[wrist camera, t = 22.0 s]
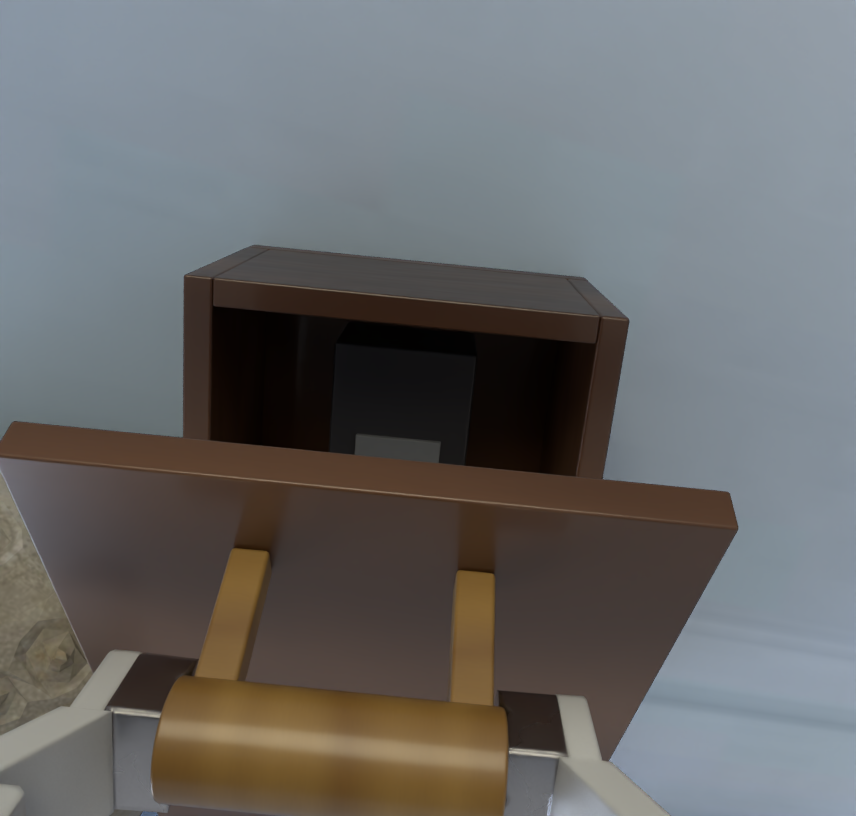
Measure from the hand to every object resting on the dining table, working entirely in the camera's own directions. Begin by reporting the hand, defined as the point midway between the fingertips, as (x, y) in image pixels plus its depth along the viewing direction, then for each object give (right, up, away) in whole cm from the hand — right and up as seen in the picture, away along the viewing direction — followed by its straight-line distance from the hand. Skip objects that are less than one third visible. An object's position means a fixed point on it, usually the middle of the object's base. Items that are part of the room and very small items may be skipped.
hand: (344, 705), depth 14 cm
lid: (0, -3, +7) cm, 7 cm away
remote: (0, +1, +17) cm, 18 cm away
